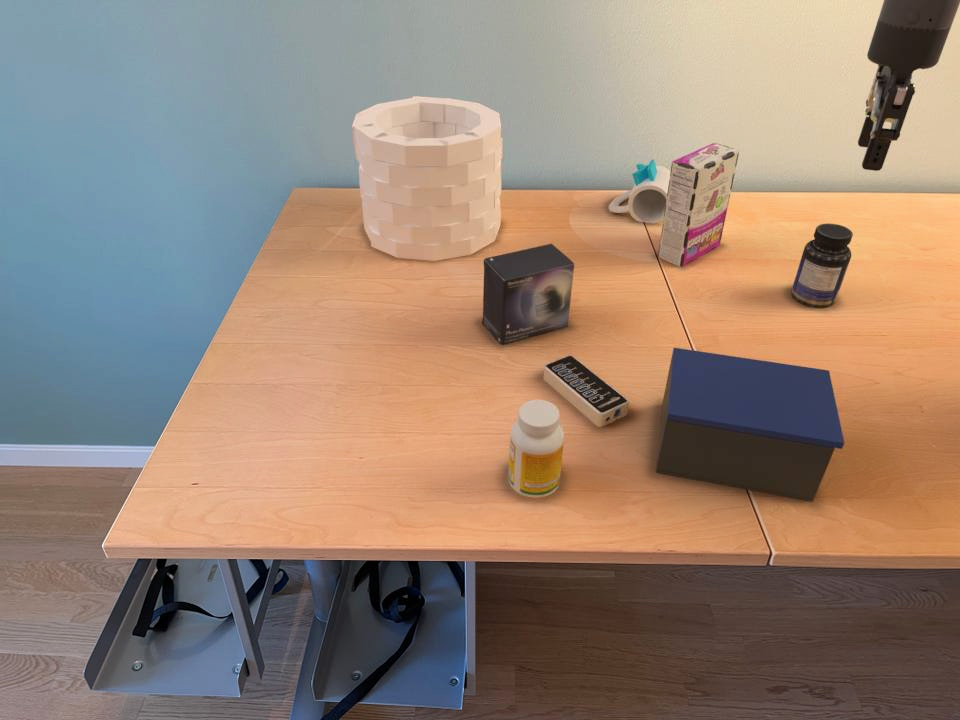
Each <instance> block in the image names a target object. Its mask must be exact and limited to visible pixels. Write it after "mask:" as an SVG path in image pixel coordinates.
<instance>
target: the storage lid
mask: <svg viewBox="0 0 960 720" xmlns="http://www.w3.org/2000/svg"><path fill="white" fill-rule="evenodd" d="M671 358H672V365H671V377H670V389H669V400H668V412H667V420H673V421H679V422H685V423H691V424H697V425H703V426H708V427H714V428H720V429H726V430H732V431H738V432H744V433H750V434H756V435H762V436H768V437H773V438H779V439H785V440H791V441H797V442H803V443H809V444H815V445H821V446H827V447H833V448H835V449H840V450H843V448H844V445H845V439H844V435H843V429H842V425H841V421H840V415H839V411H838V406H837V401H836V397H835V392H834V388H833V387H834V386H833V383H832V378H831V373H830V370H829V369H822V368H815V367H808V366H801V365H794V364H788V363H781V362H775V361H767V360H761V359H755V358H747V357H740V356H734V355H727V354H719V353H713V352H707V351H700V350H692V349H686V348H681V347H680V348H679V347H673V350H672V354H671Z"/></svg>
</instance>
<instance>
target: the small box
mask: <svg viewBox="0 0 960 720" xmlns="http://www.w3.org/2000/svg"><path fill="white" fill-rule="evenodd" d="M574 270H575V262H573V260H571V259H570V258H569V257H568V256H566V254H565V253H563V252H562V250H560V249H559V248H558V247H556V246H555V245H554V244H553V243H547V244H543V245H539V246H535V247H529V248H525V249H520V250H517V251H516V250H515V251H512V252H507V253H503V254H499V255H493V256H489V257H485V258H483V293H482V295H483V296H482V320H481V325H482V326H483V327H485V329H486V330H487V331H488V332H489V333H490V334H491V336H492V337H493V338H494V339H495V341H496V342H497V343H499V345H501V346H504V345H509V344H512V343H515V342H520V341H523V340H527V339H530V338H534V337H538V336H541V335H545V334H548V333H549V334H550V333H552V332H557V331H560V330H563V329H566V328H568V327H569V319H570V309H571V298H572V290H573V279H574Z"/></svg>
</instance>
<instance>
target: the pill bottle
mask: <svg viewBox="0 0 960 720" xmlns="http://www.w3.org/2000/svg"><path fill="white" fill-rule="evenodd" d="M853 236H854V233H853V231H852V230H851V229H850V228H848V227H847V226H844V225H841V224H837V223H830V222H829V223H821V224H818V225H817V226H816V227H815V230H814V232H813V238H814V239H811V240H810V241H808V242H807V243H806V244H805V246H804V247H803V251H802V254H801V257H800V260H799V264H798V268H797V271H796V275H795V278H794V281H793V284H792V287H791V292H790V293H791V297H792V299H793V300H794V301H796V303H799V304H801V305H803V306H806V307H808V308H814V309H827V308H830V307H832V306H833V305H834V304H836V301H837V298H838V296H839V293H840V290H841V287H842V284H843V281H844V278H845V276H846V272H847V270H848V267H849V265H850V262H851V259H852V251H851V249H850V247H849V245H850V244H851V242H852V239H853Z"/></svg>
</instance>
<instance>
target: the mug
mask: <svg viewBox="0 0 960 720" xmlns="http://www.w3.org/2000/svg"><path fill="white" fill-rule="evenodd" d="M635 166H636V169H637V170H636V171H634V172H633V173H632V177H633V181H634V183H633V187H632V189H630V190H627V191H625V192H623V193H621V194H620V195H618V196H617V197H615V198H614V199H613V200H612V201H611V202H610V203H609V205H608V210H609V212H611V213H612V214H627V213H629V214H630V216H631V217H632V219H634V220H635V221H636V222H639V223H646V224H655V225H656V224H658V223H660V222H661V223H662V222H663V220H664V214H665V207H666V199H667V193H668V186H669V180H670V173H671V169H668V167H666V166H663V165H660V164H659V165H656V161H655V159H651V160H650V161H649V163H648V164H643V163H637V164H635ZM626 200H627V205H620V204H622V202H624V201H626Z"/></svg>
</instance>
